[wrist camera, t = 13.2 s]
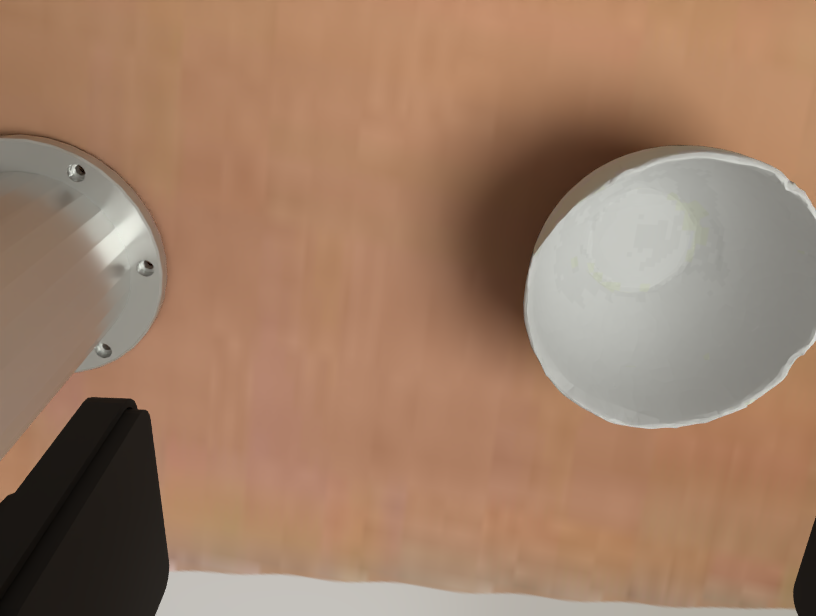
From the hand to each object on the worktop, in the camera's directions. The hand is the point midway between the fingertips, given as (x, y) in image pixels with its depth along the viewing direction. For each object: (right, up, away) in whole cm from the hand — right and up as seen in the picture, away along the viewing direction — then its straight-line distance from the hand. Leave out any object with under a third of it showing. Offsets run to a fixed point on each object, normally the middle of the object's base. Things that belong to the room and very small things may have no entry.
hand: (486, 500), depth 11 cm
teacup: (+11, +6, +28) cm, 31 cm away
